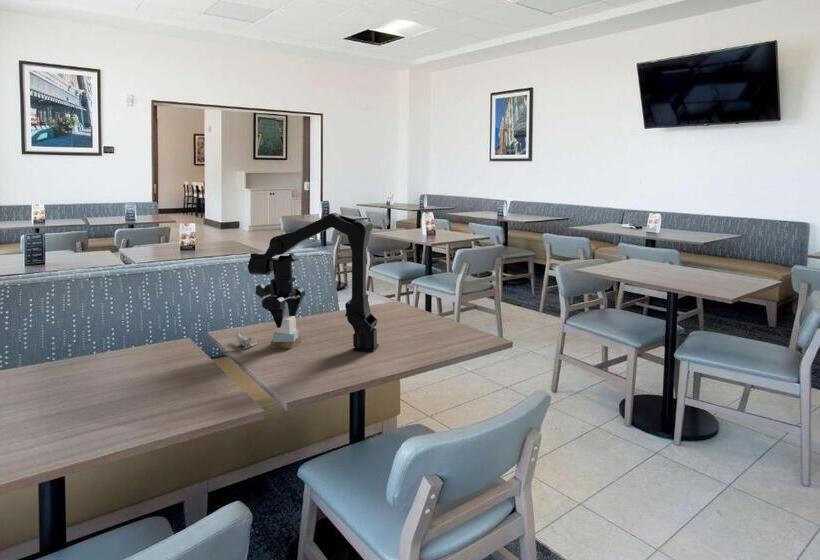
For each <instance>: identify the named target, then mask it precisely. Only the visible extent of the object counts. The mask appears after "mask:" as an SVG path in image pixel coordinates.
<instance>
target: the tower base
mask: <svg viewBox="0 0 820 560" xmlns="http://www.w3.org/2000/svg"><path fill="white" fill-rule="evenodd" d="M301 343H302V336H299V335H298V337H297V339H296V340H295V341H294V342H273V339H272V340H270V347H271V348H274V347H278V348H277V349H287V348H290V349H289V350H292V349H294V348H295V347H297V346H298V345H299V344H301ZM296 345H297V346H296Z"/></svg>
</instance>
